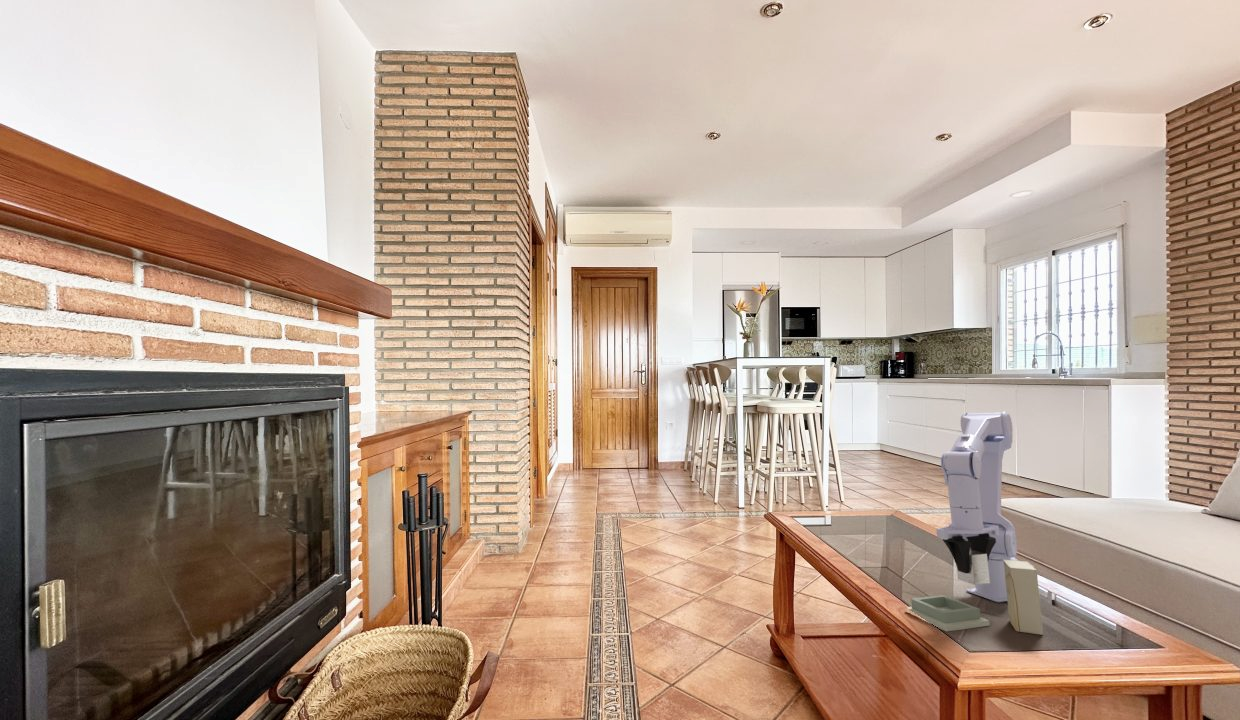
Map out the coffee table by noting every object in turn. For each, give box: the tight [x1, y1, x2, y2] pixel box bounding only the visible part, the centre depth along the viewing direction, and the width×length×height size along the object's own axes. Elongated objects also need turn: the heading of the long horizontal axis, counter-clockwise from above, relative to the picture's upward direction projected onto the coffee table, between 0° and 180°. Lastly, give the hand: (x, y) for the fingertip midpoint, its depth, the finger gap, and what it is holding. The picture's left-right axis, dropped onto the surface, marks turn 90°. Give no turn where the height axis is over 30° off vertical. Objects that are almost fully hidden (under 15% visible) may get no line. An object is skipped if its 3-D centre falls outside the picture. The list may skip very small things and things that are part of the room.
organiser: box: [906, 594, 991, 632], centre depth 104 cm, size 10×10×3 cm
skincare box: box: [1003, 560, 1044, 636], centre depth 99 cm, size 6×4×12 cm
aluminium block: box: [956, 549, 990, 586], centre depth 108 cm, size 4×4×6 cm
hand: (972, 571), depth 108 cm, fingers closed on aluminium block, 4 cm apart
